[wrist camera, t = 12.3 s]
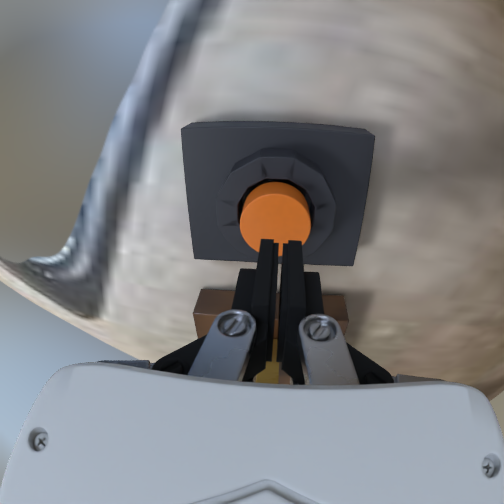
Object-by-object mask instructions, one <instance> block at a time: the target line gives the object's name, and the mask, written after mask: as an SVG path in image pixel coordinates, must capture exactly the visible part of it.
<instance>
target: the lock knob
mask: <svg viewBox="0 0 504 504" xmlns="http://www.w3.org/2000/svg"><path fill="white" fill-rule="evenodd" d="M276 357H277V339H273V352H272V362H268V361H266V369H264V370H263V371H262V372H260V373H259V374H257V375H256V383H269V384H278V380H279V362H276Z"/></svg>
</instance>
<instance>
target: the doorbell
mask: <svg viewBox="0 0 504 504" xmlns="http://www.w3.org/2000/svg"><path fill="white" fill-rule="evenodd" d="M181 137H182V150H183V162H184V173H185V184H186V194H187V203H188V212H189V221H190V229H191V237H192V245H193V253H194V259H204V260H224V261H244V262H258V255H259V252H257V251H256V250H254V249H253V248H251V247H250V246H249V245H248V244H247V243H246V241H245V240H244V238H243V236H242V234H241V230H240V218H241V214H242V210H243V207H244V203H245V200H246V198H247V196H248V195H249V194H250V193H251V192H252V190H254V189H255V188H256V187H258V186H260V185H262V184H265V183H269V182H282V183H286V184H289V185H291V186H293V187H295V188H296V189H298V190H299V191H300V192H301V193H302V195H303V196H304V197H305V199H306V201H307V204H308V209H309V214H310V220H311V230H310V234H309V237H308V239H307V240H306V242H305V243H304V244H303V245H302V253H303V264H310V265H334V266H353V265H354V260H355V256H356V251H357V246H358V241H359V237H360V231H361V226H362V221H363V216H364V210H365V204H366V198H367V192H368V186H369V179H370V173H371V165H372V158H373V150H374V141H375V136H374V135H373V134H371V133H370V132H368V131H367V130H366V129H361V128H353V127H344V126H335V125H324V124H311V123H294V122H269V121H220V122H195V123H190V124H189V125H187V126H185V127H183V128H182V129H181ZM278 264H282V256H278Z"/></svg>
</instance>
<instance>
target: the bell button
mask: <svg viewBox="0 0 504 504" xmlns="http://www.w3.org/2000/svg"><path fill="white" fill-rule="evenodd" d="M240 230H241V234H242V236H243V238H244V240H245V241H246V243H247V244H248V245H249V246H250V247H251V248H253V249H254V250H256V251H257V252H259V248H260V241H261V239H274V243H279V252H278V256H282V252H283V243H288V240H298V241H302V245H303V244H304V243H305V242H306V240H307V239H308V237H309V234H310V230H311V220H310V214H309V209H308V204H307V201H306V199H305V197H304V196H303V195H302V193H301V192H300V191H299V190H298V189H296V188H295V187H293V186H291V185H289V184H286V183H282V182H269V183H265V184H262V185H260V186H258V187H256V188H255V189H254V190H252V192H251V193H250V194H249V195H248V196H247V198H246V200H245V203H244V207H243V210H242V214H241V218H240Z"/></svg>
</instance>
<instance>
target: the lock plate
mask: <svg viewBox="0 0 504 504" xmlns="http://www.w3.org/2000/svg"><path fill="white" fill-rule="evenodd" d="M234 294H235V291H227V290H212V289H201V291H200V294H199V297H198V300H197V303H196V306H195V309H194V312H193V316H194V321H195V326H196V331H197V336H198V339H199V338H201V337H203V336H205V335H207V334H208V332H209V330H210V328H211V326H212V324H213V321H214V320H215V318H216V317H217V316H218V315H219V314H221V313H222V312H225V311H227V310H231V307H232V303H233V298H234ZM279 298H280V293H276V310H275V324H274V338H273V339H278V319H279ZM322 299H323V307H324V315H328V316H330V317H332V318H334V319H335V320H336V321H337V322H338V323H339V325H340V327H341V330H342V333H343V335H345V332H346V329H347V326H348V322H349V319H348V314H347V309H346V304H345V299H344V296H343V295H322ZM281 364H282V362H279V380H278V384H289V385H290V376H289V375H288V374H286V373H285V372H284V371H283V370H281ZM255 383H256V378H255Z"/></svg>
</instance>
